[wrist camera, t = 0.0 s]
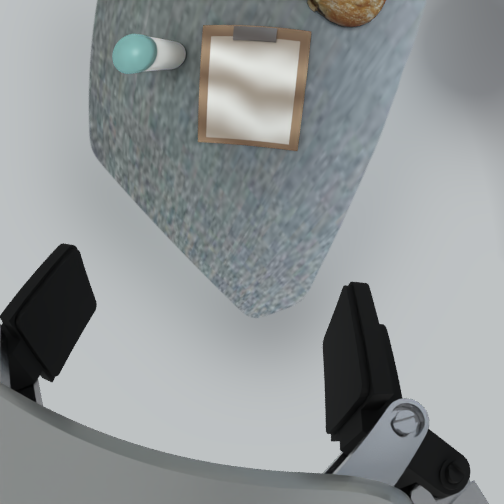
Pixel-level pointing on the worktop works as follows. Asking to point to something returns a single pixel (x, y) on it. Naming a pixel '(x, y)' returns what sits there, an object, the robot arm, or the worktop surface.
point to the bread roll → (347, 10)
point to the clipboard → (252, 85)
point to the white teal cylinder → (147, 54)
